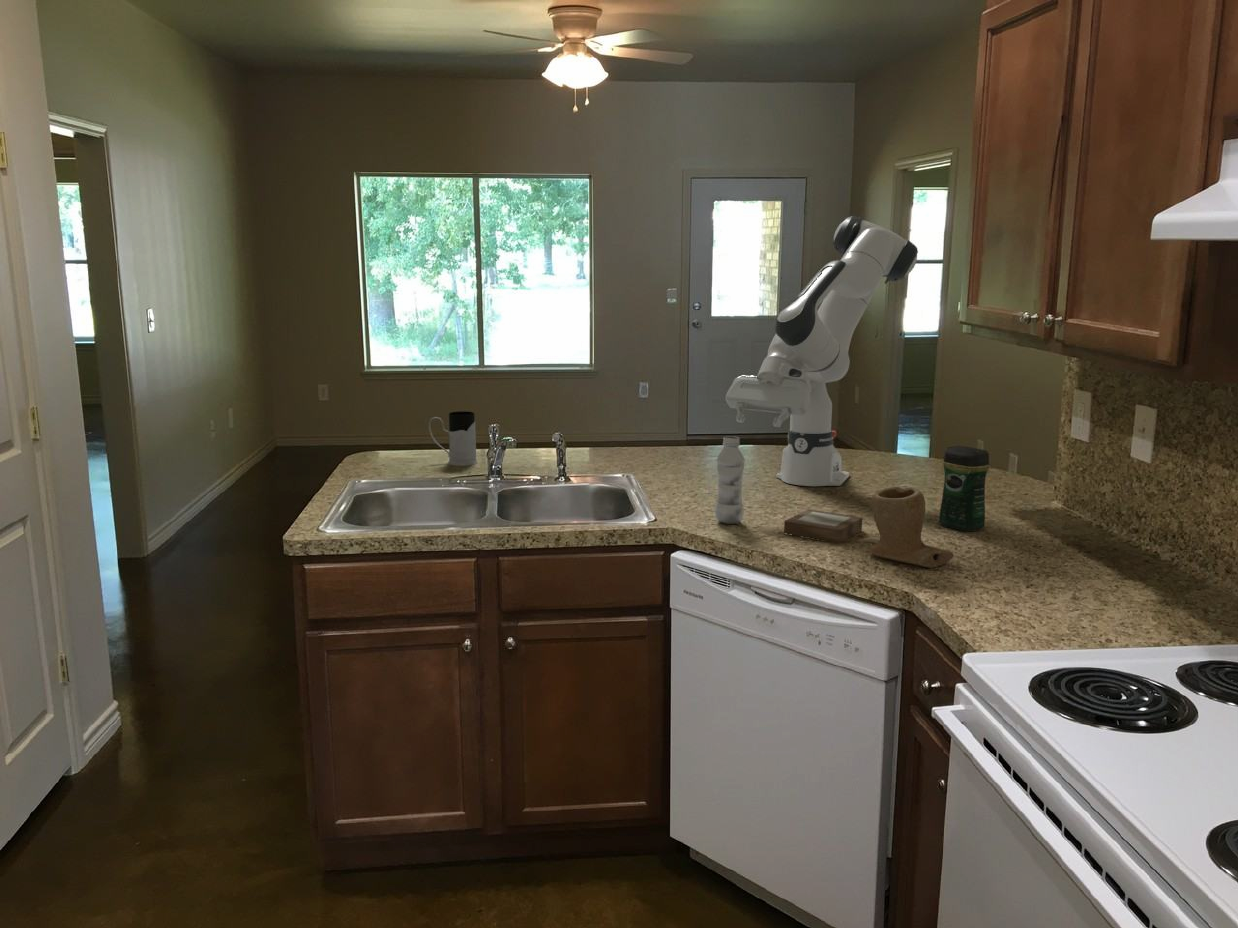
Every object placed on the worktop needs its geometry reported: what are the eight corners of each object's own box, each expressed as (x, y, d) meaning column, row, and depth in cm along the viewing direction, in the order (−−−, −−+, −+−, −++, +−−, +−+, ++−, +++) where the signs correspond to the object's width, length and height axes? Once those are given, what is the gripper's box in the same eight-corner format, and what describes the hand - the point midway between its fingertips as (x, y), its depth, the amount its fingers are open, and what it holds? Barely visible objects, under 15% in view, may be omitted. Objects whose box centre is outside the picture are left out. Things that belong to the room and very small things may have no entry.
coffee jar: (990, 529, 221) (997, 448, 217) (967, 534, 217) (974, 452, 213) (955, 519, 229) (961, 442, 225) (932, 524, 225) (938, 445, 221)
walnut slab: (807, 521, 226) (808, 508, 225) (861, 530, 219) (862, 516, 218) (784, 534, 216) (784, 520, 215) (839, 543, 208) (840, 529, 208)
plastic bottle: (725, 528, 220) (727, 441, 216) (709, 521, 226) (711, 436, 222) (749, 524, 223) (751, 438, 219) (732, 518, 229) (734, 434, 225)
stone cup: (855, 558, 198) (859, 486, 195) (889, 547, 206) (894, 478, 203) (920, 576, 187) (926, 500, 184) (954, 564, 194) (960, 491, 191)
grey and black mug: (475, 465, 287) (474, 415, 284) (427, 465, 287) (425, 415, 284) (479, 460, 295) (478, 411, 292) (433, 459, 295) (431, 410, 292)
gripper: (733, 366, 239) (714, 410, 233) (812, 373, 229) (794, 419, 222) (739, 383, 244) (721, 426, 237) (818, 390, 233) (800, 436, 227)
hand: (757, 423), depth 230 cm, fingers open, 8 cm apart
